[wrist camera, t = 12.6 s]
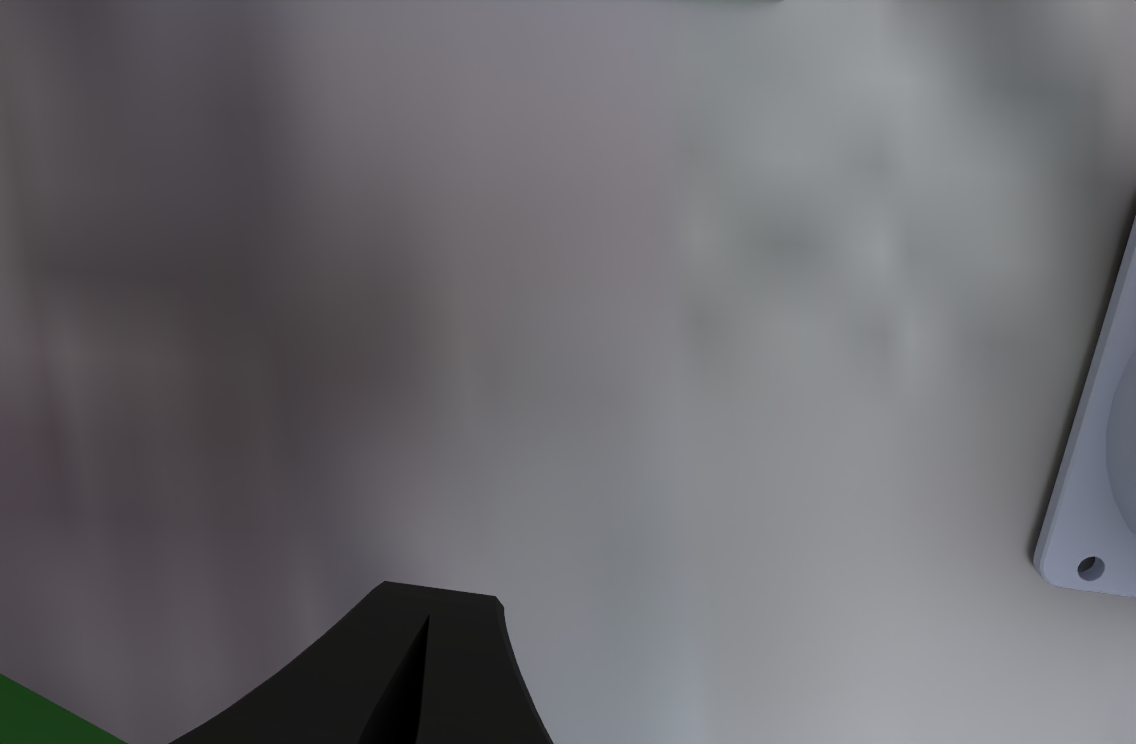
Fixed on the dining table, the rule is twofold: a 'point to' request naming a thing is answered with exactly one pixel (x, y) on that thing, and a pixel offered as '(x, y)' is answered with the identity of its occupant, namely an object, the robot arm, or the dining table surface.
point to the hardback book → (42, 720)
